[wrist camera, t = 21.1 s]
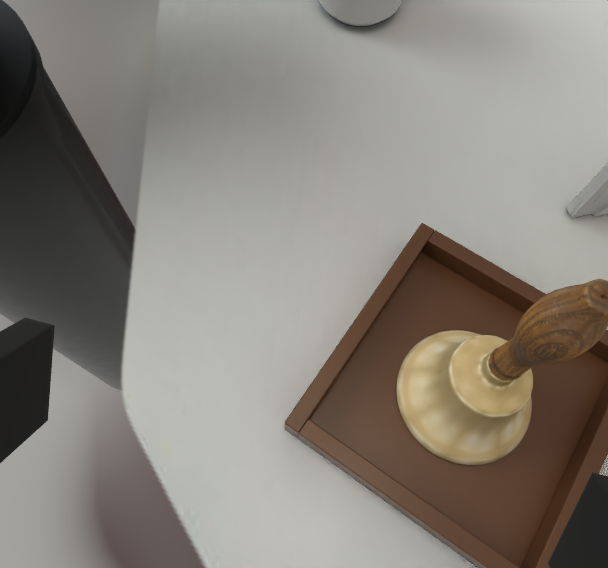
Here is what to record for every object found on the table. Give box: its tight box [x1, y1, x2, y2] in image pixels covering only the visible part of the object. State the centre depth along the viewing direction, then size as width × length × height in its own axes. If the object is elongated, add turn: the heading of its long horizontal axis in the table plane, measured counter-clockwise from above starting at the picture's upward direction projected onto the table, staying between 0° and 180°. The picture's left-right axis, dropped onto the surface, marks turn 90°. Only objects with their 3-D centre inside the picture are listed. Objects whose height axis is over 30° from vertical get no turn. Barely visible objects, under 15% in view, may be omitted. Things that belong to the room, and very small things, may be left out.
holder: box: [285, 223, 608, 568], centre depth 32 cm, size 16×16×3 cm
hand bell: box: [396, 279, 608, 465], centre depth 25 cm, size 8×8×16 cm
